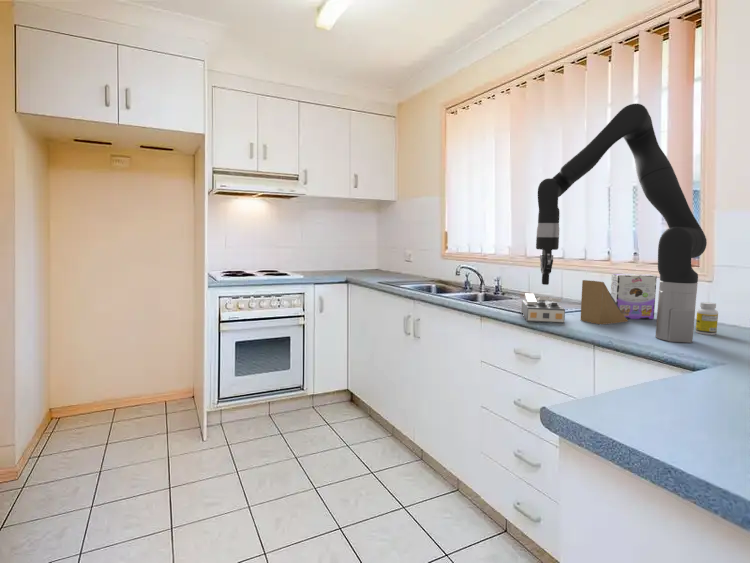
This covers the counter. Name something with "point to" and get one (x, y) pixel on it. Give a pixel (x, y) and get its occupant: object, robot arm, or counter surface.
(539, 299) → the rocker middle
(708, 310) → the supplement bottle
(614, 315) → the sandwich container
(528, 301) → the block
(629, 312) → the candy box
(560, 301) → the rocker right
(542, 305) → the switch unit
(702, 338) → the counter surface
